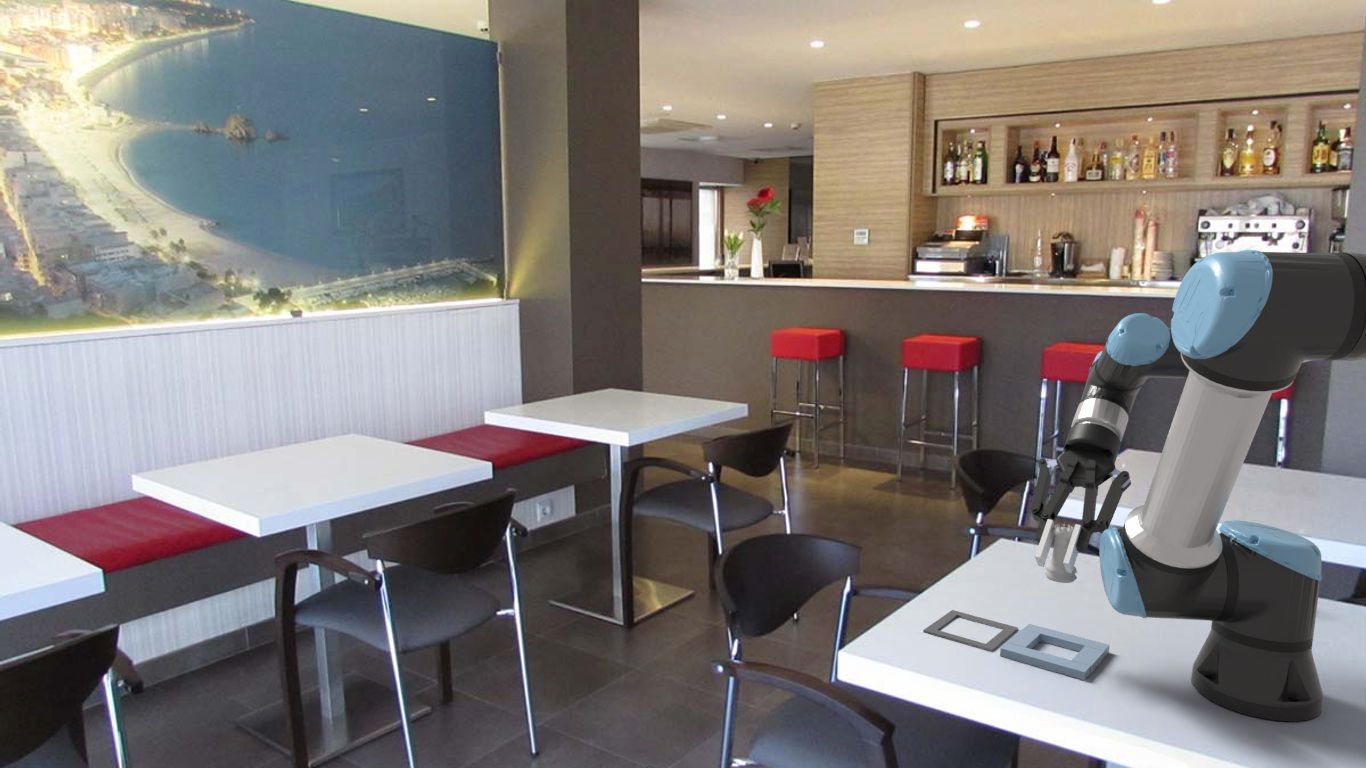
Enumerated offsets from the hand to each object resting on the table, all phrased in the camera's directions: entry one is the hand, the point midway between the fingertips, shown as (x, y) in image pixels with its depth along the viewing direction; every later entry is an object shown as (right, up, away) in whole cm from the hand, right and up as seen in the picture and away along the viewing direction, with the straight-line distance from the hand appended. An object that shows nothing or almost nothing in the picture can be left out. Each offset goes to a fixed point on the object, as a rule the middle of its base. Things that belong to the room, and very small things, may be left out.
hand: (1053, 564), depth 133 cm
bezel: (-8, -13, +13) cm, 20 cm away
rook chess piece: (+2, -3, +4) cm, 5 cm away
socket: (+2, -14, +5) cm, 15 cm away
